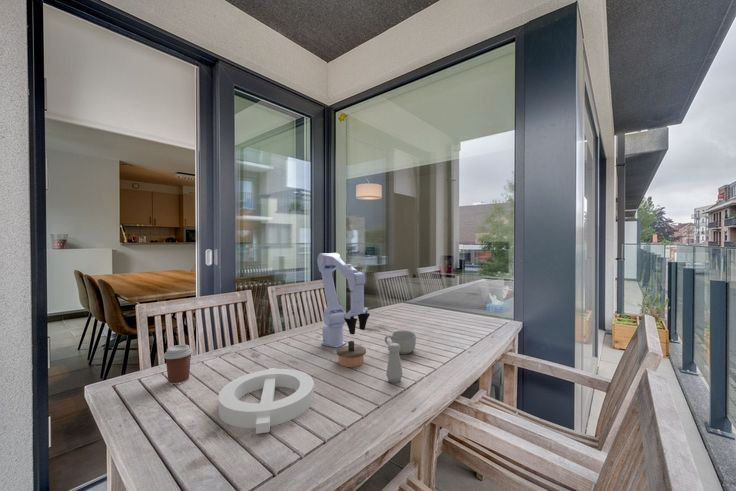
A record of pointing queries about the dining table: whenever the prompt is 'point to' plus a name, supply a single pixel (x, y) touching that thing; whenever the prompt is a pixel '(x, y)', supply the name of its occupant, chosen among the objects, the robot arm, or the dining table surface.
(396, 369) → the salt shaker
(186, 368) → the coffee cup
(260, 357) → the dining table surface
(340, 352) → the lid
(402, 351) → the teacup
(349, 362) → the bowl
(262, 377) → the ring with crossbar
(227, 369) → the dining table surface
